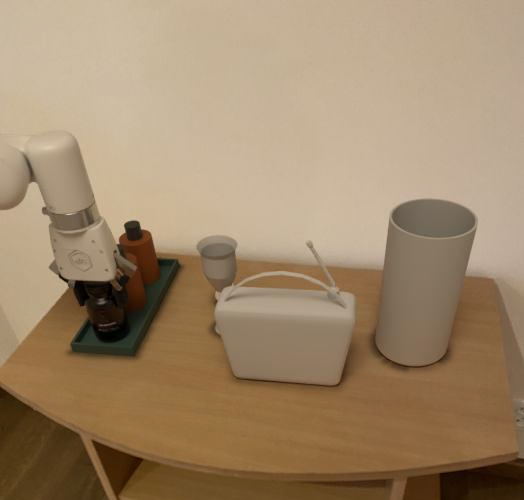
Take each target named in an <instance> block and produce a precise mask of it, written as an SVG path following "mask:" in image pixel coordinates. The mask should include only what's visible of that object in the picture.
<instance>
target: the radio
mask: <svg viewBox="0 0 524 500" xmlns="http://www.w3.org/2000/svg"><path fill="white" fill-rule="evenodd" d="M305 245H306V246H307V248H309V250H310V251H311V254H313V256H314V258H315V259H316V261H317V263H318V265H319V266H320V268H321V269H322V271H323V273H324V274H325V276H326V278H327V279H328V282H329V283H330V284H331V285H330V286H329V285H327V284H325V283H324V282H323V281H321V280H319V279H317V278H314V277H312V276H309V275H306V274H305V273H299V272H292V271H286V270H278V271H277V270H276V271H263V272H260V273H258V274H255V275H252V276H248V277H246V278H245V279H243V280H242V281H240V282H239V283H237V284H236V285H234V286H229V287H226V288H224V289H223V290H222V292H221V294H220V297H219V299H218V300H217V302H216V305H215V307H214V310H213V317H214V320H215V323H217V326H218V329H219V332H220V334H219V335H220V338H221V342H222V344H223V347H224V350H225V353H226V355H227V360H228V362H229V365H230V368H231V371H232V374H233V376H235V377H236V378H238V379H244V380H245V379H246V380H256V381H266V382H267V381H269V382H282V383H293V384H305V385H316V386H317V385H318V386H331V387H332V386H337V385H339V383H340V382H341V379H342V374H343V371H344V367H345V363H346V360H347V357H348V352H349V350H350V346H351V343H352V338H353V335H354V331H355V328H356V324H357V310H358V309H357V307H358V302H357V297H356V296H355V294H353V293H352V292H349V291H342V290H341V291H340V288H339V287H338V286H337V284H336V282H335V281H334V279H333V277H332V275H331V274H330V272H329V270H328V269H327V267H326V265H325V264H324V262H323V260H322V258H321V257H320V255H319V253H318V252H317V250H316V248H315V247H314V243H313V242H312V240H311V239H308V240H307V241H306V242H305ZM273 276H285V277H292V278H299V279H303V280H306V281H308V282H311V283H312V284H315V285H318V286H320V287H321V288H323V289H325V290H320V289H319V290H318V289H300V288H299V289H297V288H282V287H281V288H280V287H279V288H278V287H277V288H276V287H259V286H243V285H244V284H246V283H247V282H250V281H254V280H256V279H259V278H263V277H273Z"/></svg>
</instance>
